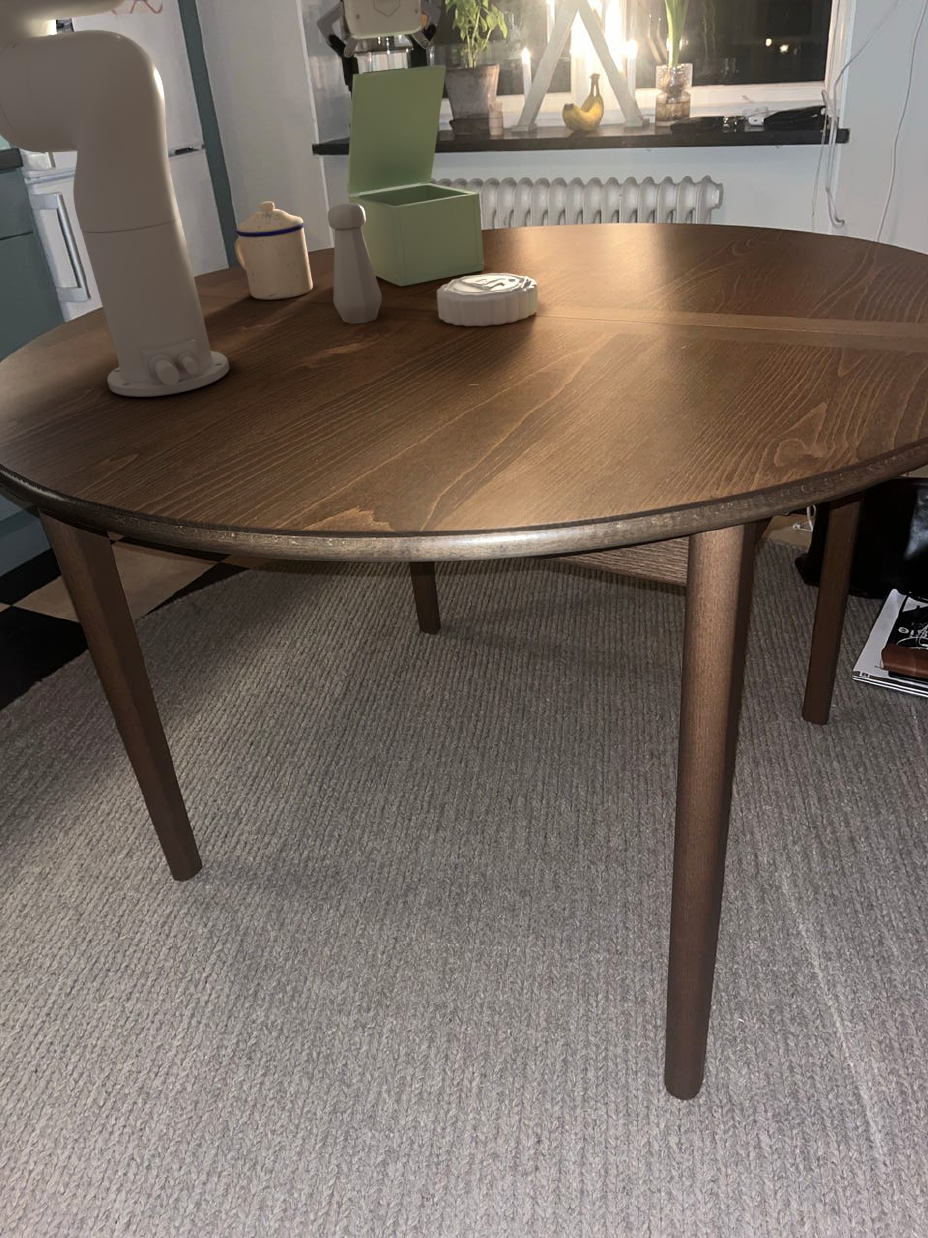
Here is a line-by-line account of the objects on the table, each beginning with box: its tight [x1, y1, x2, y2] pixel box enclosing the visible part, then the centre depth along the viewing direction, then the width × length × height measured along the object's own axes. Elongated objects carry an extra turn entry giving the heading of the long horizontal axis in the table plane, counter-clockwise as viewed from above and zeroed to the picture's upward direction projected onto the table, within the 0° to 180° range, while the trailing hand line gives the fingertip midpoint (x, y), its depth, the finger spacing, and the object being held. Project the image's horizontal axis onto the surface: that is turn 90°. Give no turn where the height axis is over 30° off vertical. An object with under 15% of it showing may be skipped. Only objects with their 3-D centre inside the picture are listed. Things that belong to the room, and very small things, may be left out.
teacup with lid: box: [234, 200, 314, 301], centre depth 129 cm, size 12×9×12 cm
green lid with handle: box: [346, 63, 447, 195], centre depth 131 cm, size 17×13×6 cm
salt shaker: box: [327, 203, 383, 325], centre depth 112 cm, size 6×6×13 cm
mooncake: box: [436, 272, 539, 327], centre depth 112 cm, size 12×12×4 cm
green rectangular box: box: [348, 182, 485, 287], centre depth 134 cm, size 16×13×10 cm
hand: (387, 86), depth 128 cm, fingers open, 9 cm apart
